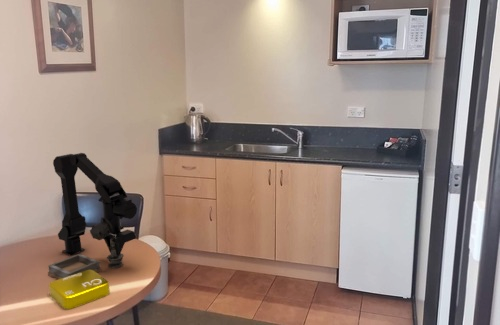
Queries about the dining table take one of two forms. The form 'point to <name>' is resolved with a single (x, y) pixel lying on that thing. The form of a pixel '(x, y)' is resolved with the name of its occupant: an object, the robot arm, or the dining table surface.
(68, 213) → the robot arm
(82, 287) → the element tile
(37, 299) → the dining table surface
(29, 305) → the dining table surface
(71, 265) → the socket
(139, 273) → the dining table surface
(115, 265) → the dark grey chess piece
